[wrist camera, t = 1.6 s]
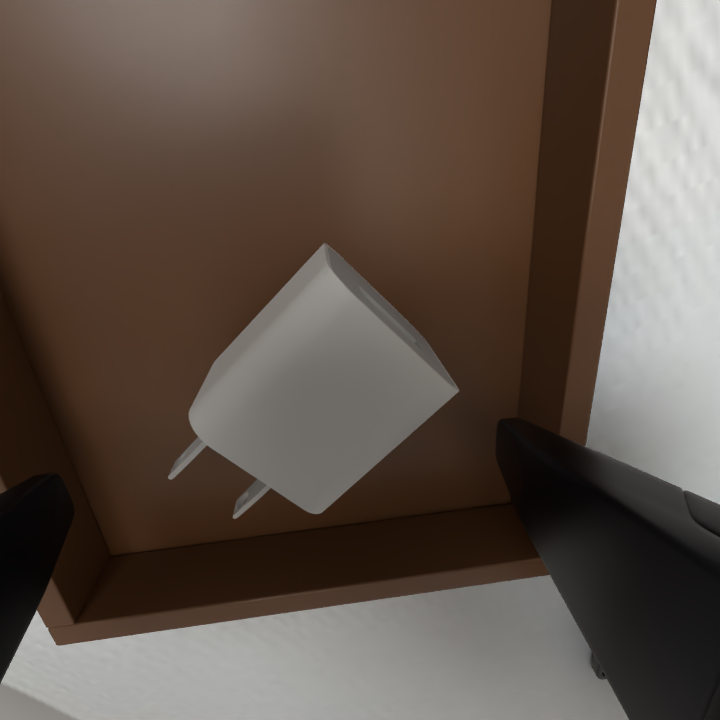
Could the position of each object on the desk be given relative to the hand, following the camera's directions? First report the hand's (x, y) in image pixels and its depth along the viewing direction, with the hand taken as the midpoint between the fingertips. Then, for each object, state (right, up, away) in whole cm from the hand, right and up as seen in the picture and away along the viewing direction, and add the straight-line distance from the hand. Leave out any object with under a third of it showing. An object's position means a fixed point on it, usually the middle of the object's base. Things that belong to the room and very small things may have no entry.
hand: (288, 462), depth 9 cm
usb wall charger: (-1, +2, +4) cm, 4 cm away
